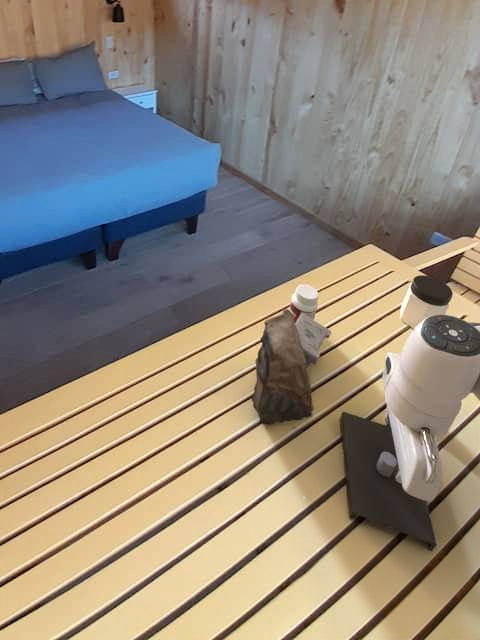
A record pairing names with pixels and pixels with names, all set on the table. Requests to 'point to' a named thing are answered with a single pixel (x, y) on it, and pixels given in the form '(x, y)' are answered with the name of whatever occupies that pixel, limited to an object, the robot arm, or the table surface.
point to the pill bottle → (304, 302)
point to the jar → (425, 300)
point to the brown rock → (282, 373)
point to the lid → (380, 480)
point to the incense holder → (311, 337)
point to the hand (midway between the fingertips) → (395, 449)
